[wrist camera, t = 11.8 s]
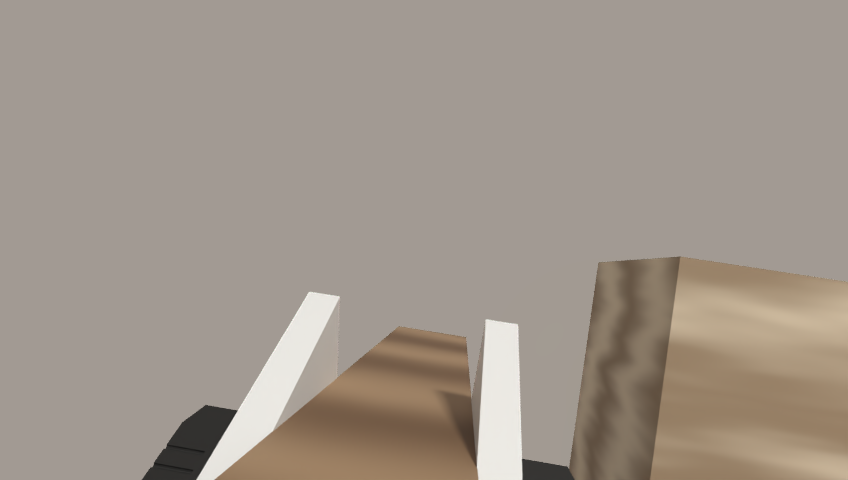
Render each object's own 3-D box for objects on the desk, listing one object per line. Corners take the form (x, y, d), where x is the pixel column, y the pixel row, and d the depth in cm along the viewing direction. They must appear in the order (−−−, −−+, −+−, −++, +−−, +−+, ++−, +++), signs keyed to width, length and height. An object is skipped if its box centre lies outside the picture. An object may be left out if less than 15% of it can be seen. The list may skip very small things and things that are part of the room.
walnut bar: (437, 922, 6) (487, 575, 6) (115, 845, 6) (172, 515, 6) (455, 405, 29) (465, 337, 29) (388, 394, 29) (398, 326, 29)
